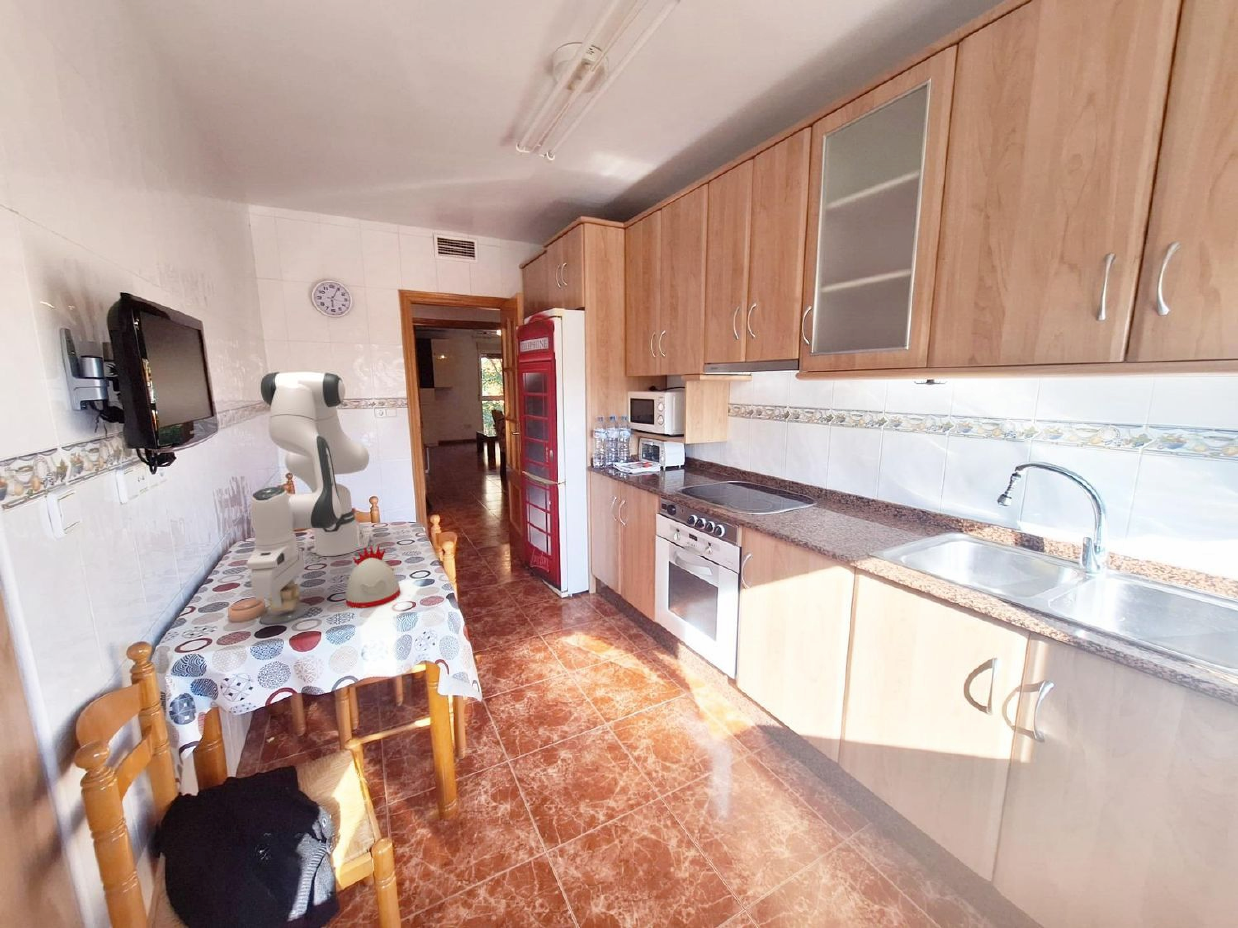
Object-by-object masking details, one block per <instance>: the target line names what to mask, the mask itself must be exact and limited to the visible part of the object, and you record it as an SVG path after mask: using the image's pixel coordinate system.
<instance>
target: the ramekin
mask: <svg viewBox="0 0 1238 928" xmlns="http://www.w3.org/2000/svg"><path fill="white" fill-rule="evenodd" d="M266 605H267V604H266V599H256V598H255V597H251V598H244V599H241V600H239V601H237V602H235V603H233V604H231V605H230V606H229V607H227V614H228V621H229V622H231V623H243V622H248V621H252V620H254V619H257V618H261V616H262V615H263V614H264V613H265V612H267V611H268V610H267V606H266Z"/></svg>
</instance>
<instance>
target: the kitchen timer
mask: <svg viewBox="0 0 1238 928" xmlns="http://www.w3.org/2000/svg"><path fill="white" fill-rule="evenodd" d="M369 549H370V550H369V551H370V553H369V552H368V550H367V548H366V547H365V548H364V549H363V550H364V551H363V554H362V553H361V552H360V551H358V555H359V558H360V559H357V558H356V557H355V556H353V558H352V559H353V561H354V562H355V563H356V565H355V566H354V567H353V569H351V570H352V571H351V573H349V577H348V579H347V582H346V586H345V587H346V588H345V605H346V606H347V607H349V606H350V608H353V607H354V609H368V608H374V607H378V606H382V605H385V604H387V603H390V602H392V601H394V600H396V599H397V598H398V597H399V596H400V594H401V586H400V583H399V580H398V578H397V576H396V573H395V571H394V570H395V569H394V567H392V566H390V565H389V564H388V563H387V562H386V561H384V560H383V557H384V556H385V553H386V548H384V549H383V550H382V552H381V550H380V549H381V548H380V546H379V545H378V546H377V547H376V552H374V549H373V547H372V546H370V548H369ZM355 607H356V608H355Z"/></svg>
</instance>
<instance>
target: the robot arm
mask: <svg viewBox="0 0 1238 928" xmlns="http://www.w3.org/2000/svg"><path fill="white" fill-rule="evenodd" d="M259 388H260V393H261V394H260V395H261V397H262V400H263V401H264V403H266V404H267V405H268V406H270V411H269V421H268V423H269V424H268V432H269V437H270V439H271V440H272V442H273V443H274V444H275V445H276V446H278V447H279V448H281V449H282V450H285V451H287V454H286V456H285V460H284V463H285V467H286V470H287V471H288V472H289V473H290V474H291V475H292V476H294V477H296V478H298V479H300V480H301V481H302V482H304V483H305V485H307V486H308V487H309V490H310V491H311V492H310V493H309V492H308V493H305V492H304V493H288V491H287V490H286V489H285V488H284V487H281V486H270V487H267V488H263V489H262V488H261V489H259V490H256V491H255V492H254V493H252V495H251V498H250V503H249V504H250V507H249V509H250V520H251V521H250V522H251V527H252V530H253V532H254V535H255V537H254V547H255V548H254V549H253V551H252V553H251V555H250V557H249V558H248V560H247V561H246V567H247V570H251V571H250V575H249V577H250V585H251V590H252V594H253V596H254V597H253V598H256V599H264V600H268V599H271V600H272V601H273V606H274V607H280V606H281V605H282V604H283V603H284V602H283V598H281V597H280V595H279V594H280V590H281V589H282V588H284V587H285V586H286V585H291V584H296V577H297V576H298V575H299V574H301V573H302V572H303V571H304V570H305V559H304V555H303V551H302V549H301V547H300V546H298V543H297V536H296V533H295V531H294V530H299V529H300V530H301V529H313V543H314V546H313V547H312V548H311V549H310V553H312V554H316V555H318V556H321V557H334V556H340V555H346V554H351V553H353V552H356V551H358V550H364V548H365V547H366V549H367V548H368V545H369V543H370V539H371V535H370V534H368V533H367V534H366V533H364V529H363V525H362V523H360V522H359V521H358V520H356V516H355V515H356V508H355V507H352V499H351V498H352V497H351V496H352V495H351V492H350V489H349V488H348V487H346V486H345V485H343V484H340V483H336V481H337V480H336V477H335V475H336V476H337V475H349V474H353V473H354V474H355V473H358V472H362V471H364V470H365V469H367V466H368V465H369V463H370V455H369V451H368V449H366V447H365V446H364V445H362V444H360V443H359V442H356V441H354V440H353V439H351V437H349V436H348V435H347V434H346V433H345V431H344V430H343V428H342V426H341V422H340V420H339V416H338V415H339V414H338V410H337V407H338V406H340V405H341V404H343V402H344V399H345V396H346V388H345V384H344V382H343V379H342V378H341V377H340V376H338V375H337V374H335V373H329V372H325V373H324V372H316V371H314V372H313V371H290V372H288V371H287V372H279V371H276V372H271V373H266V374H265V375H264V376H263V377H262V379H261V381H260V387H259Z"/></svg>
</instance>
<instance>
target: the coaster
mask: <svg viewBox="0 0 1238 928" xmlns="http://www.w3.org/2000/svg"><path fill="white" fill-rule="evenodd" d="M311 608H312V607H311V604H309V603H306V602H299V603H298V604H297V605H296V606H295V607H294V608H293V609H292V610H283V611H273V612H270V609H268V610H267V611H266V612H265V613H264V614H263V615H262V616H260V621H261V623H262V624H265V625H279V624H286V623H291V622H293V621H295V620H298V619H301V618H302V617H304V616H306V615H307V614H309V613H310V611H311V610H312V609H311Z"/></svg>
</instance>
